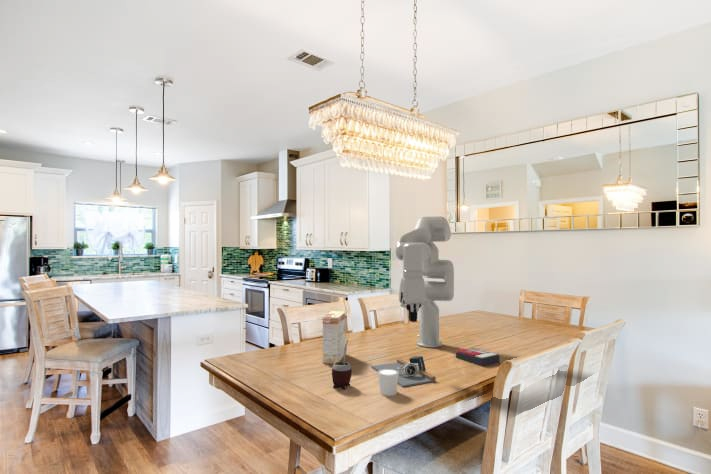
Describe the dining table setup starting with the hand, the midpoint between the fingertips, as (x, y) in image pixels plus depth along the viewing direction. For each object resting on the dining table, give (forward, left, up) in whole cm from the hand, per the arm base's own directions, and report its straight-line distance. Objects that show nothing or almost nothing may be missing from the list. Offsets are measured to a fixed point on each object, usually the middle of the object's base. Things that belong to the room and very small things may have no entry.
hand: (413, 321), depth 153 cm
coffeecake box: (-30, -21, -20) cm, 42 cm away
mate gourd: (+2, -31, -20) cm, 37 cm away
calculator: (-2, +34, -21) cm, 40 cm away
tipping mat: (0, -5, -20) cm, 21 cm away
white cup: (+14, -19, -20) cm, 31 cm away
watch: (+1, +3, -17) cm, 17 cm away
